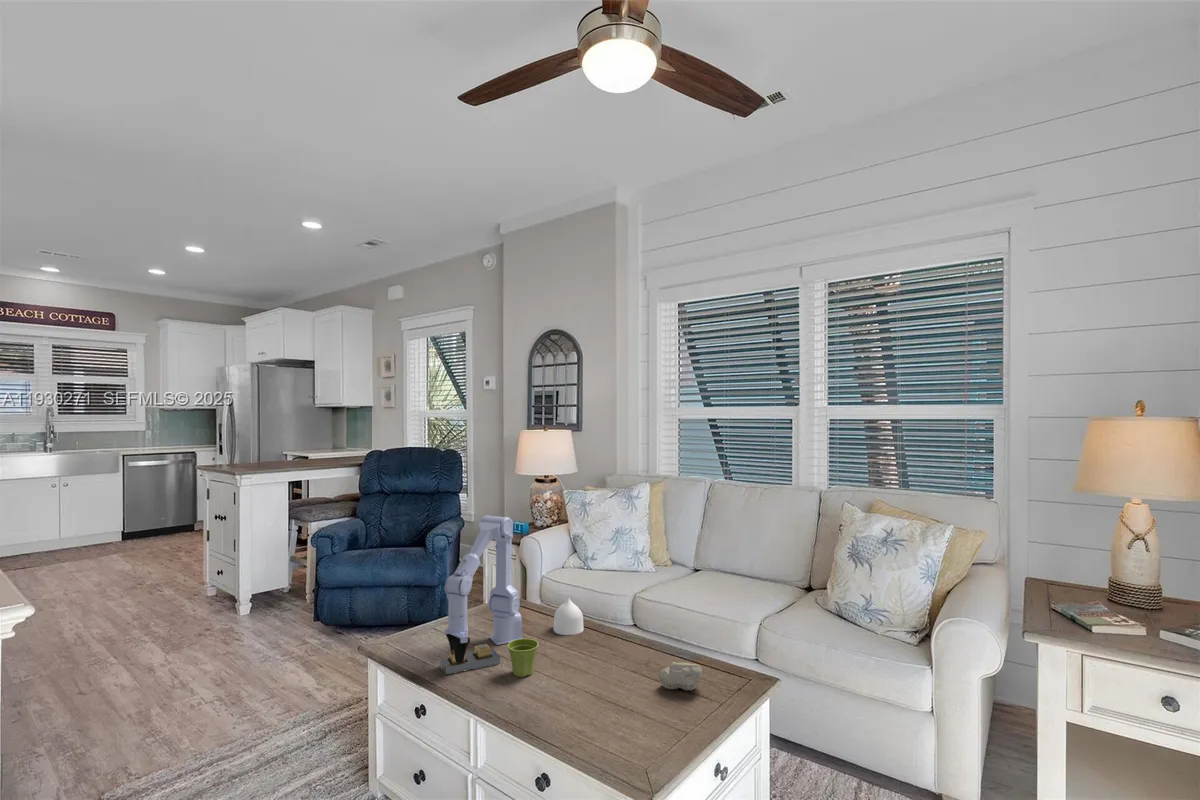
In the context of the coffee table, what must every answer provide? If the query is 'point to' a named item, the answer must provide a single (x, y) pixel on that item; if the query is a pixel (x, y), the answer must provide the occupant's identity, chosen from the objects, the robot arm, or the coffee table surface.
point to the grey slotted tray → (470, 663)
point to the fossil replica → (680, 676)
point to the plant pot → (522, 656)
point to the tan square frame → (482, 651)
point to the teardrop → (568, 619)
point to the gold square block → (453, 658)
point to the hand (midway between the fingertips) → (457, 658)
